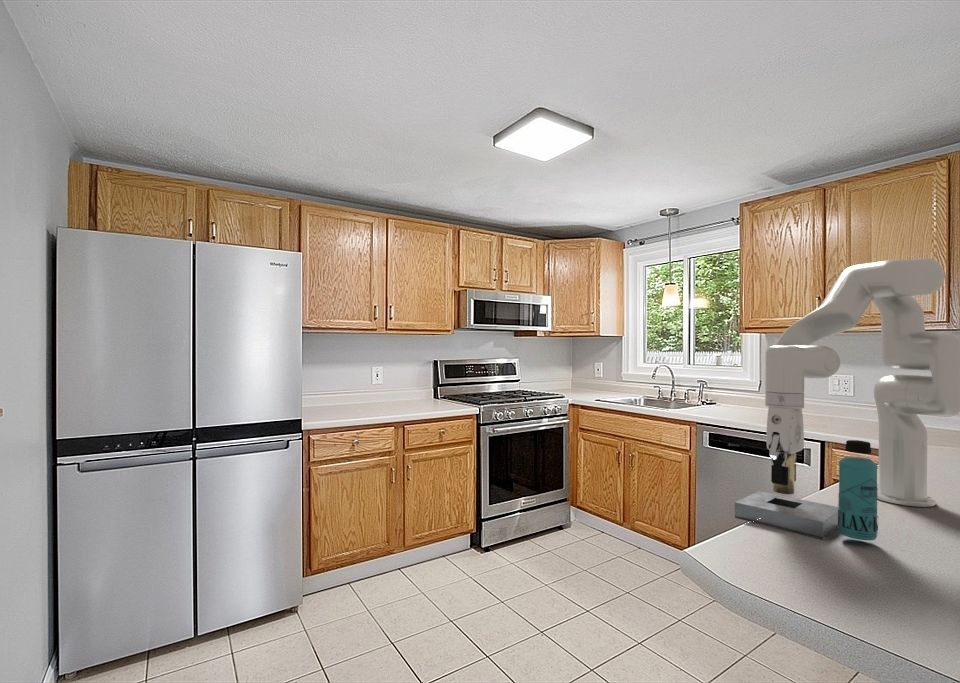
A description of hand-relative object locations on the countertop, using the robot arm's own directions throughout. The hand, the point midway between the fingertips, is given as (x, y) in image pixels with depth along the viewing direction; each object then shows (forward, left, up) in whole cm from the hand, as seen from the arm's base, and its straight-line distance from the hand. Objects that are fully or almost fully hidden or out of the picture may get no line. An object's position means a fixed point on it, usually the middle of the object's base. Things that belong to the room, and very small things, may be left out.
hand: (783, 481), depth 115 cm
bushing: (0, 0, -2) cm, 2 cm away
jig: (+1, +1, -8) cm, 8 cm away
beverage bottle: (+4, +15, -9) cm, 17 cm away
